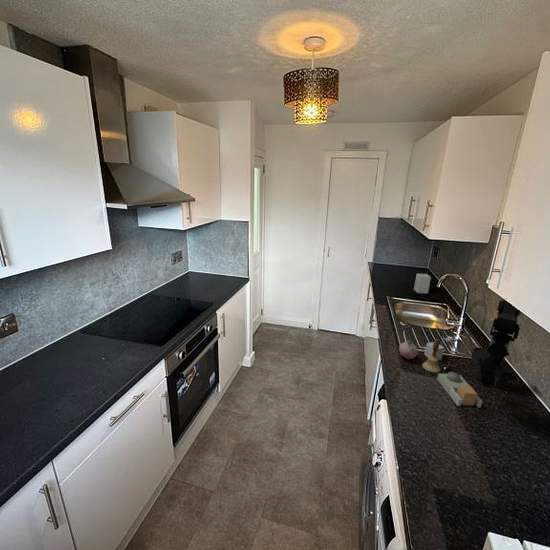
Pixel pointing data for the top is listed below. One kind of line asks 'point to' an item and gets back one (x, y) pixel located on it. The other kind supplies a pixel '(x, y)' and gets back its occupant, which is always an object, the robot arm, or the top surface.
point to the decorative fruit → (408, 350)
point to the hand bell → (432, 359)
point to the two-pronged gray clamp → (455, 386)
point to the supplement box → (422, 283)
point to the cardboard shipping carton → (467, 395)
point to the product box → (430, 350)
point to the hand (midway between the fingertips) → (488, 380)
